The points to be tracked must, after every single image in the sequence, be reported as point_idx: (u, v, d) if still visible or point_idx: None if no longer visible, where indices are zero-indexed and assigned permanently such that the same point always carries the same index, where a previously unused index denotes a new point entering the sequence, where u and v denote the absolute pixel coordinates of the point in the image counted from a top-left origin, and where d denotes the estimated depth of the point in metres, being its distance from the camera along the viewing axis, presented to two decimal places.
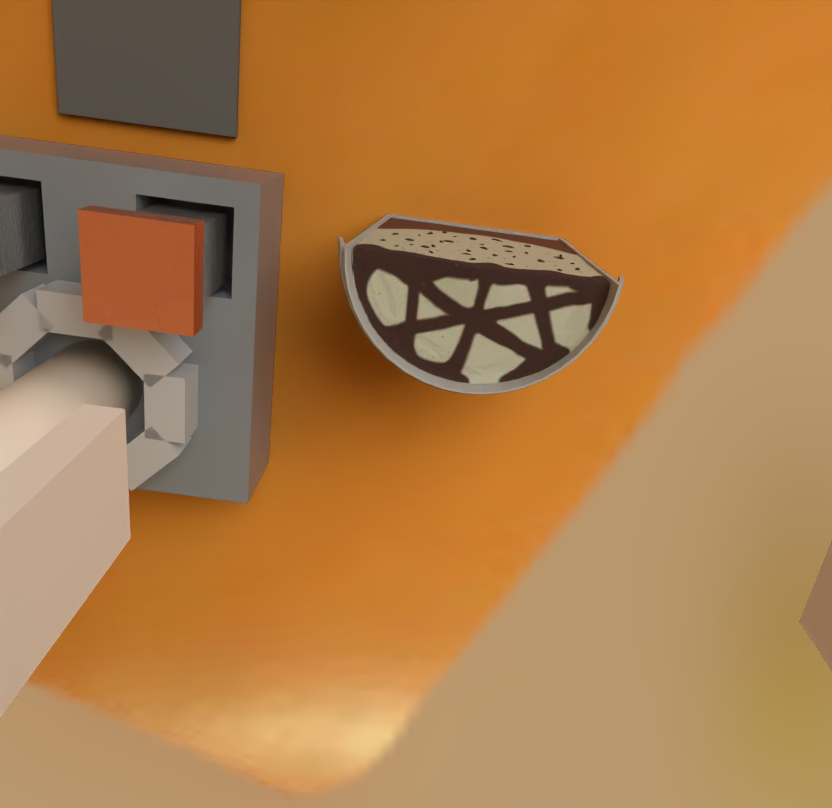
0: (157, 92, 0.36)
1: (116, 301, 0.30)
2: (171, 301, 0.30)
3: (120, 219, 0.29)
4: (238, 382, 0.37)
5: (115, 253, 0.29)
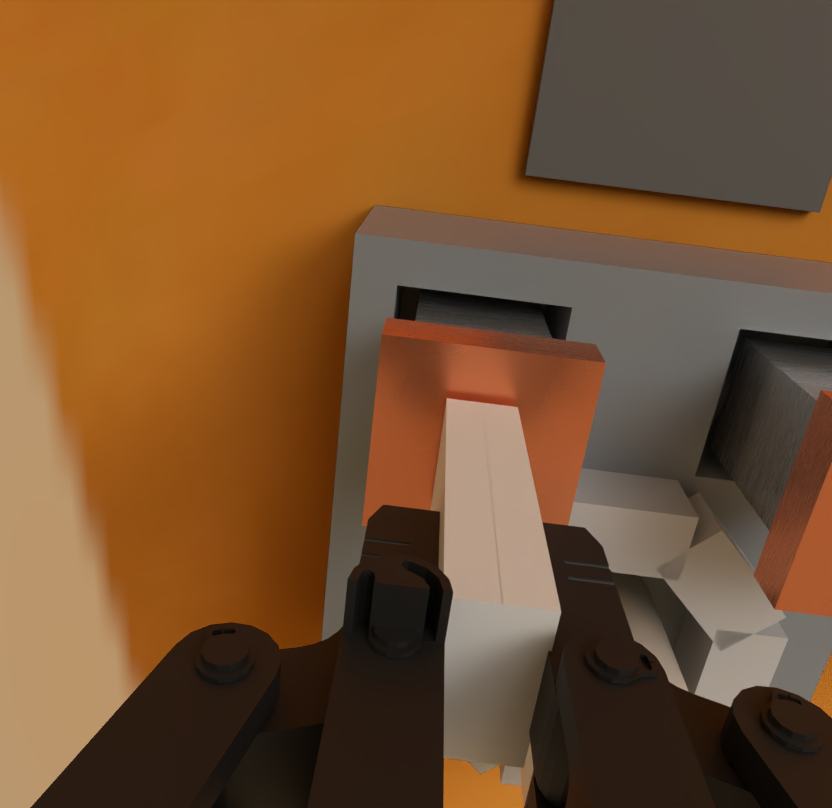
0: (704, 140, 0.22)
1: None
2: None
3: None
4: (821, 619, 0.23)
5: None
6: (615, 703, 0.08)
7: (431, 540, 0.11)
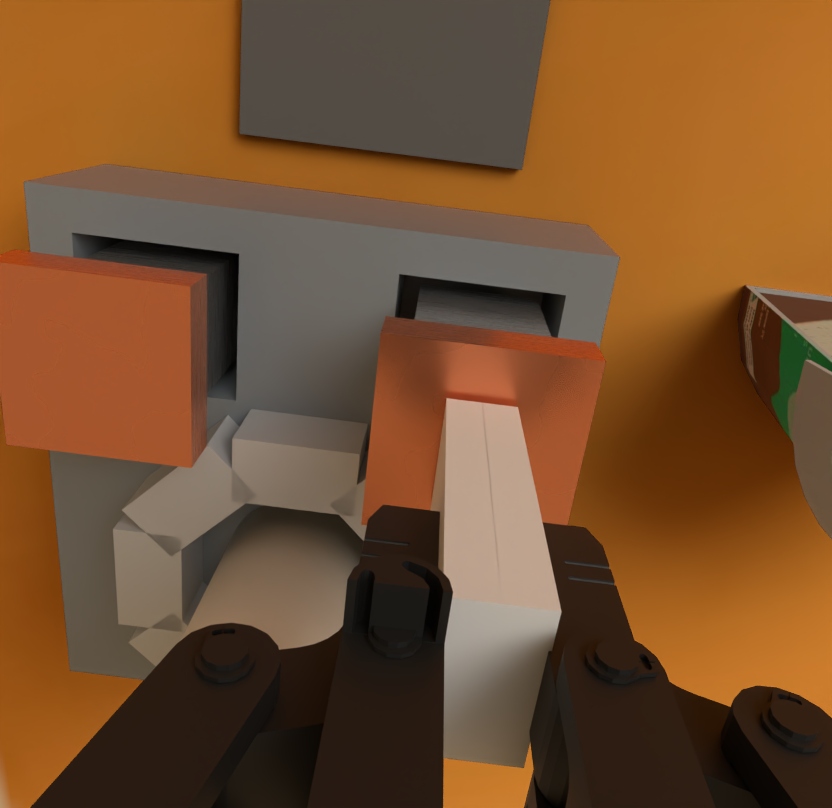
0: (403, 99, 0.22)
1: (428, 491, 0.16)
2: None
3: (461, 350, 0.15)
4: None
5: (441, 410, 0.15)
6: (615, 703, 0.08)
7: (431, 540, 0.11)
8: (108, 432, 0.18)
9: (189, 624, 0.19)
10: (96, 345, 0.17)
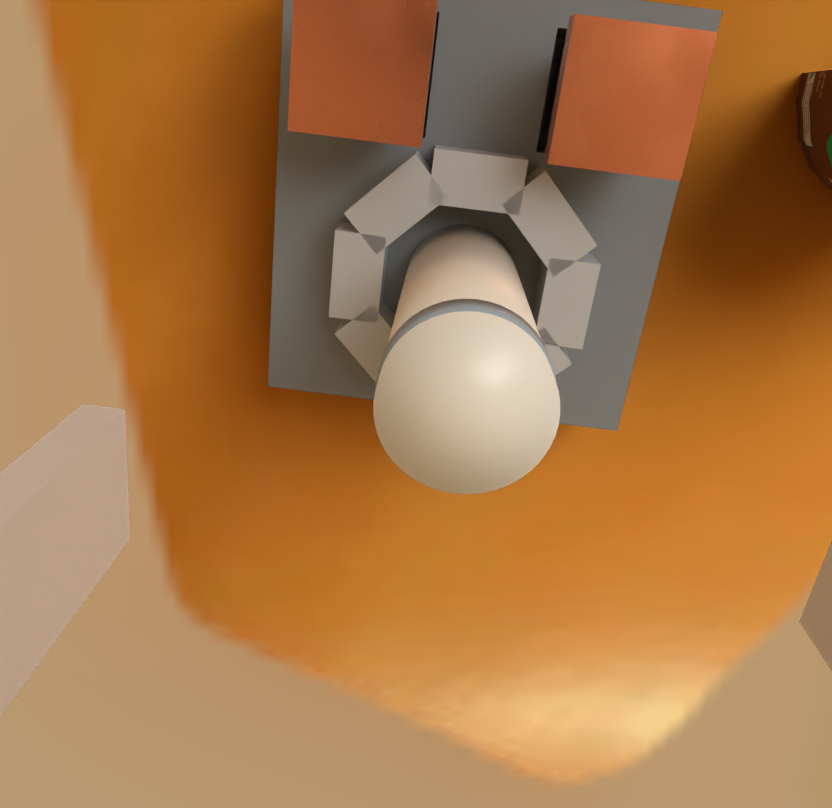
0: None
1: (595, 136, 0.25)
2: (664, 134, 0.25)
3: (626, 26, 0.23)
4: (637, 276, 0.30)
5: (609, 72, 0.24)
6: None
7: None
8: (363, 118, 0.25)
9: (410, 273, 0.26)
10: (364, 45, 0.24)
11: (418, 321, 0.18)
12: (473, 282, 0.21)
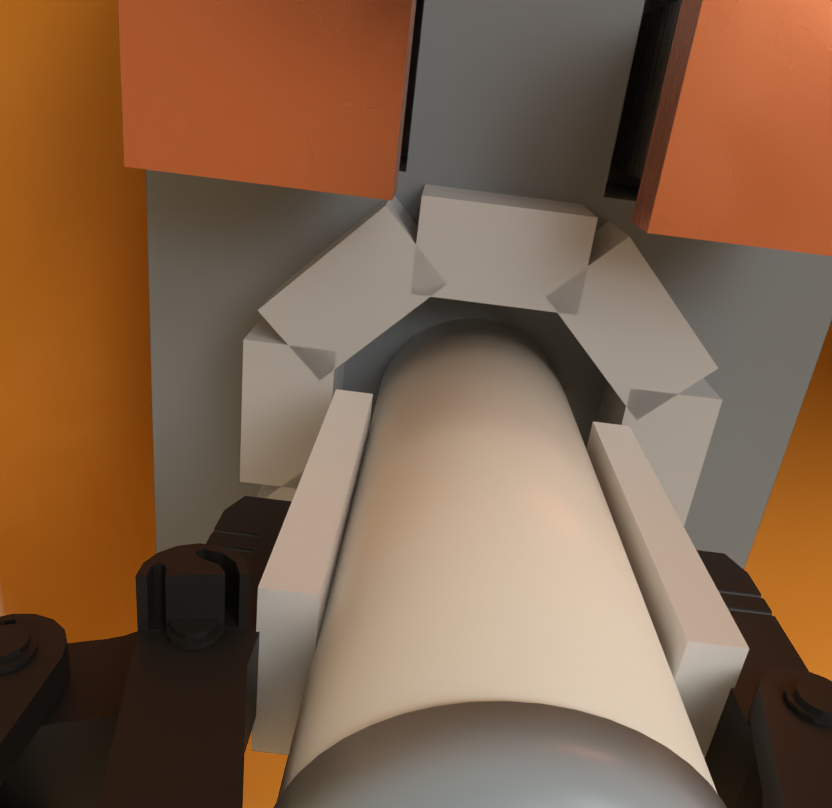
0: None
1: (747, 178, 0.12)
2: None
3: None
4: (771, 404, 0.18)
5: (786, 45, 0.11)
6: (817, 743, 0.08)
7: None
8: (274, 142, 0.12)
9: (375, 440, 0.13)
10: None
11: None
12: (514, 568, 0.08)
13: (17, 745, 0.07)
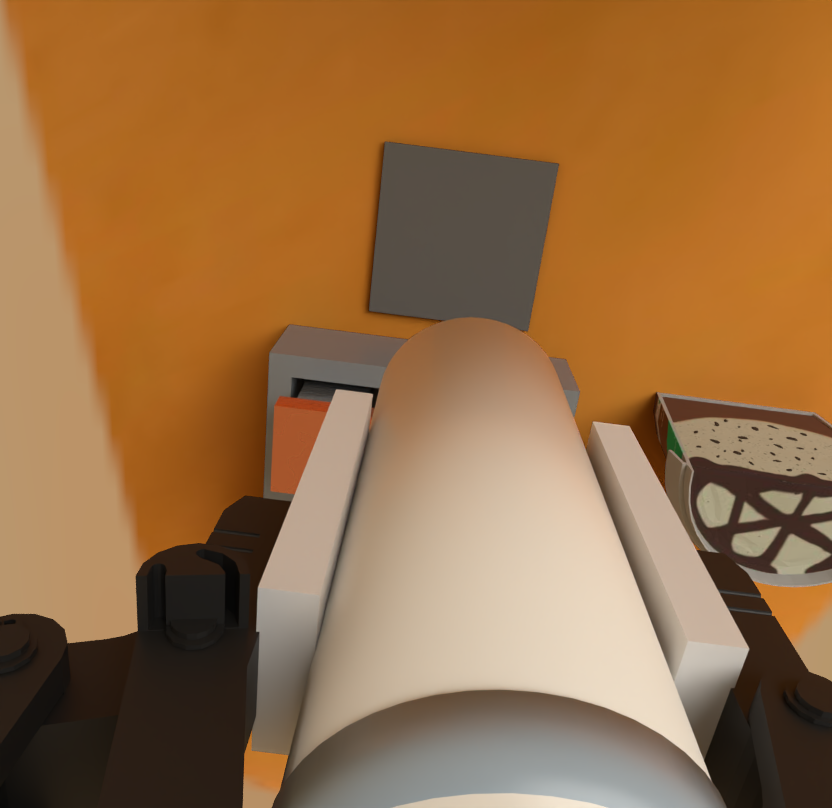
0: (462, 294, 0.40)
1: None
2: None
3: None
4: None
5: None
6: (817, 744, 0.08)
7: None
8: None
9: (375, 438, 0.14)
10: None
11: None
12: (512, 562, 0.08)
13: (17, 745, 0.07)
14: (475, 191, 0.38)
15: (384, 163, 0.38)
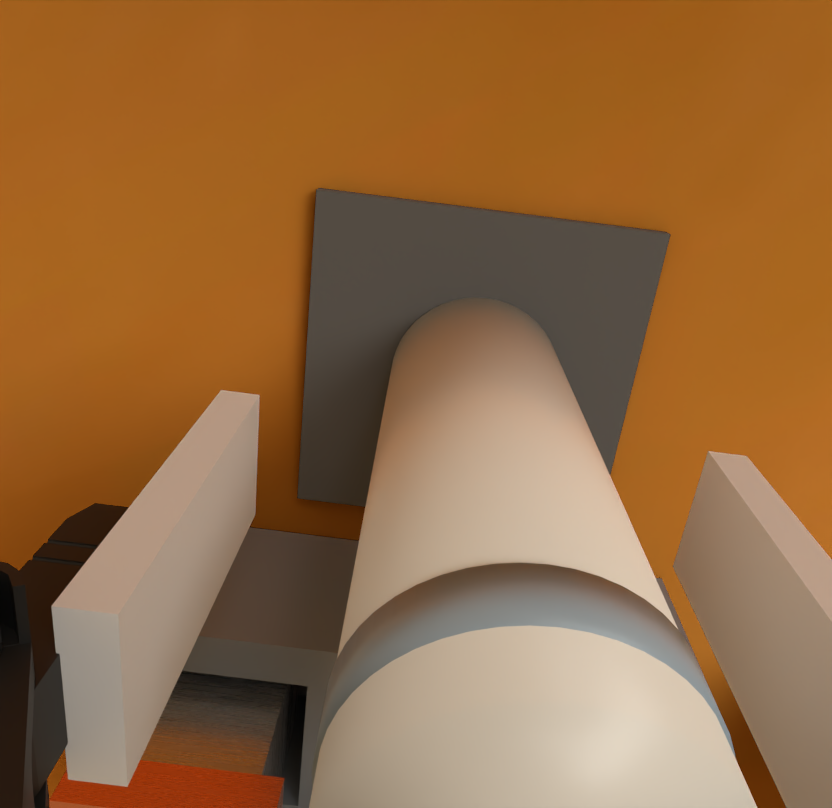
0: None
1: None
2: None
3: None
4: None
5: None
6: None
7: None
8: None
9: (395, 399, 0.15)
10: None
11: (411, 643, 0.07)
12: (523, 480, 0.10)
13: None
14: (500, 286, 0.19)
15: (316, 232, 0.19)
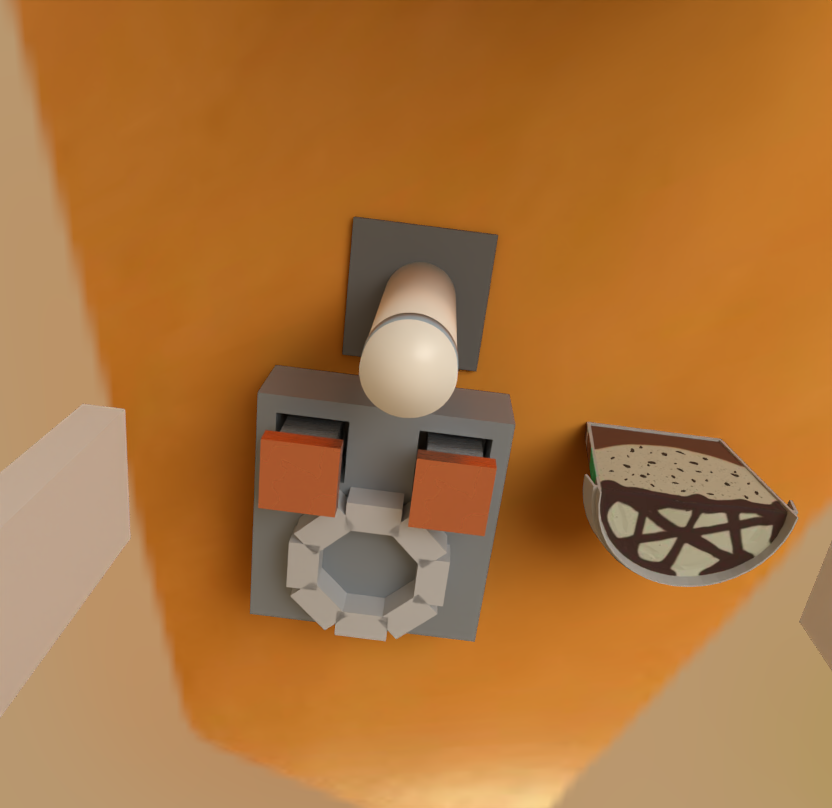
0: None
1: (433, 514, 0.43)
2: (472, 514, 0.43)
3: (445, 464, 0.42)
4: (479, 557, 0.49)
5: (438, 485, 0.42)
6: None
7: None
8: (301, 503, 0.43)
9: (384, 295, 0.42)
10: (301, 469, 0.42)
11: (383, 324, 0.34)
12: (416, 302, 0.37)
13: None
14: (429, 257, 0.46)
15: (353, 234, 0.46)
